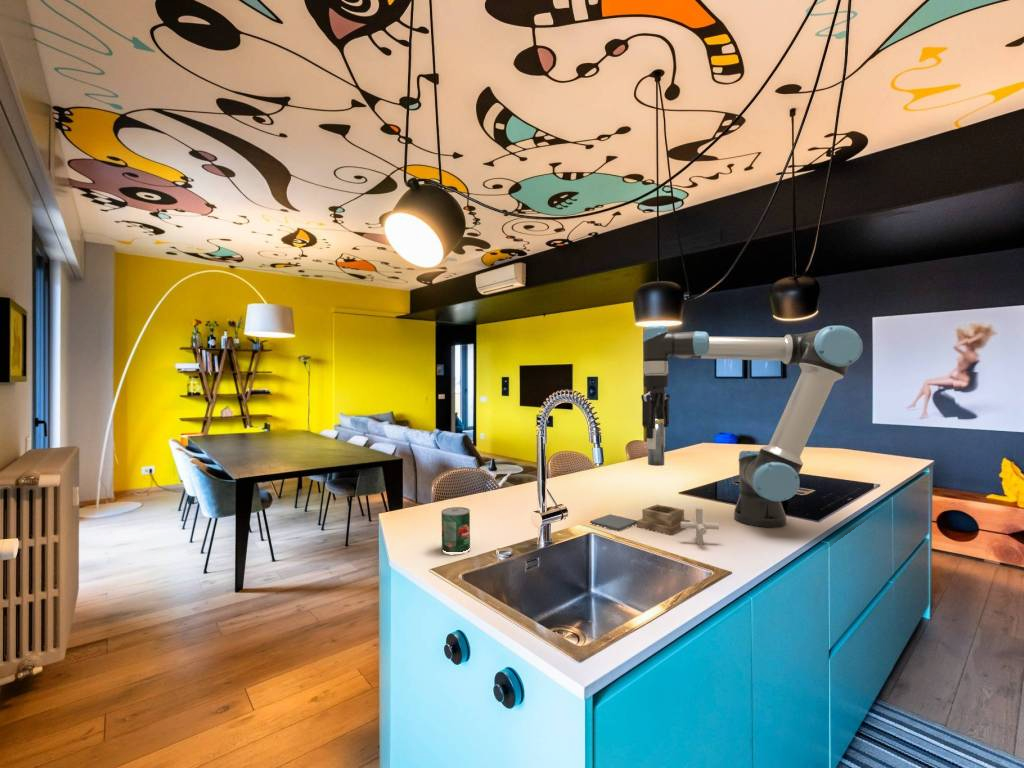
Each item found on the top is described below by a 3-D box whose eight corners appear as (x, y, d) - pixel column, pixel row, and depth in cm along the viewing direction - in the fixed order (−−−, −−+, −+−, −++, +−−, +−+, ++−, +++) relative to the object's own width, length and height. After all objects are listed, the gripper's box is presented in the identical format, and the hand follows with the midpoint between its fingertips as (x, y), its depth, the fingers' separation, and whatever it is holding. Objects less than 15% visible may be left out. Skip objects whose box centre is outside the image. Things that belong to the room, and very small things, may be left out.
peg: (667, 464, 148) (666, 418, 148) (659, 466, 144) (658, 419, 145) (653, 462, 152) (652, 418, 152) (644, 464, 148) (644, 419, 148)
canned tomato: (471, 554, 126) (470, 513, 126) (441, 556, 124) (441, 515, 124) (469, 544, 133) (468, 506, 134) (441, 546, 132) (441, 507, 132)
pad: (638, 523, 151) (638, 520, 151) (618, 531, 144) (618, 528, 144) (609, 517, 159) (609, 514, 159) (590, 524, 152) (590, 520, 152)
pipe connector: (722, 550, 126) (722, 513, 126) (683, 548, 128) (683, 512, 128) (714, 538, 136) (713, 504, 136) (678, 536, 138) (677, 503, 138)
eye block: (690, 526, 147) (690, 509, 147) (671, 535, 139) (671, 517, 139) (655, 519, 156) (655, 502, 156) (636, 527, 148) (636, 509, 148)
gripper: (659, 375, 157) (659, 444, 157) (629, 374, 145) (630, 449, 145) (680, 375, 152) (680, 446, 151) (651, 374, 139) (651, 452, 139)
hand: (656, 447), depth 148 cm, fingers closed on peg, 5 cm apart
